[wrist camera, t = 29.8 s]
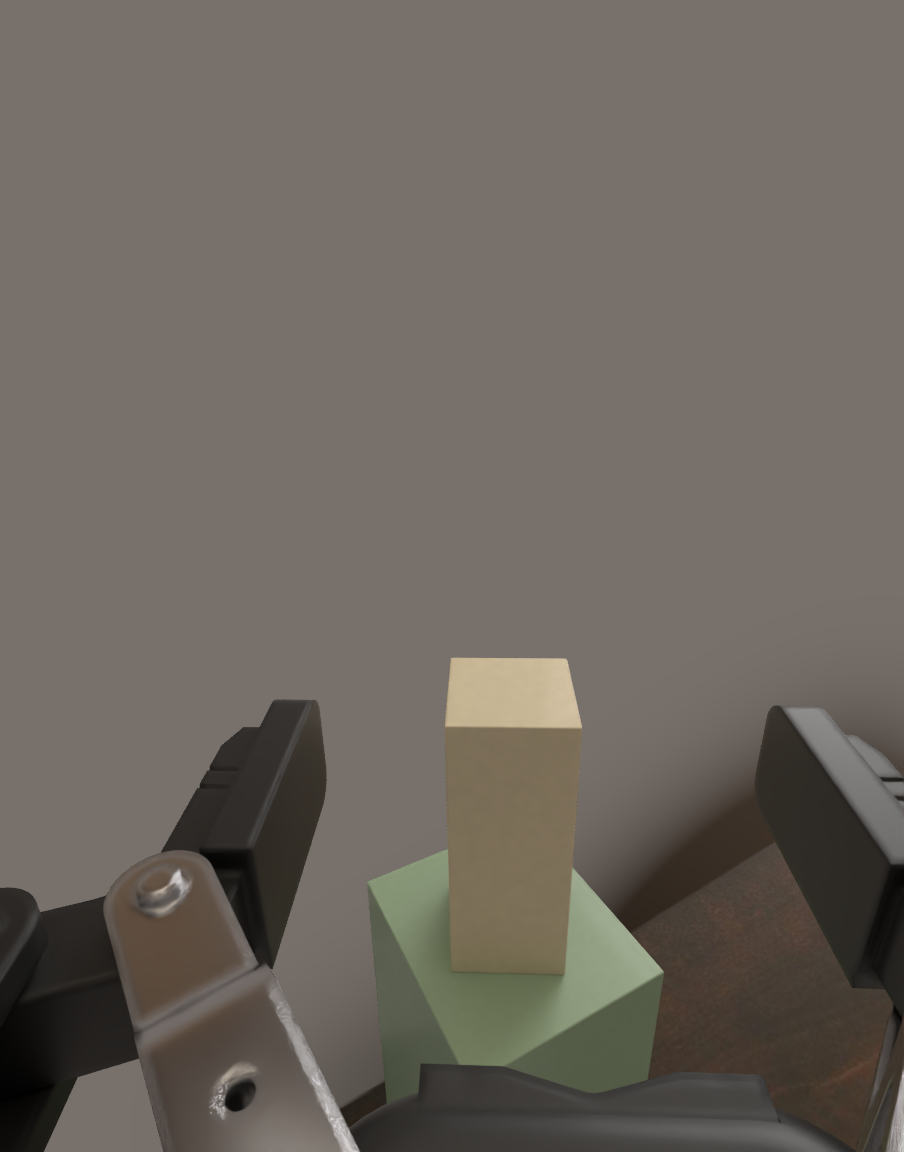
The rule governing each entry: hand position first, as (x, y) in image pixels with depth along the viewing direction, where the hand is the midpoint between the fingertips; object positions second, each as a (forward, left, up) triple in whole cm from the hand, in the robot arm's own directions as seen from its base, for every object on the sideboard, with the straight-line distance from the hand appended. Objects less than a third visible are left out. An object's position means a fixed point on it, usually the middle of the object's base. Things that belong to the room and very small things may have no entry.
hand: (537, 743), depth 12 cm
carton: (+6, +10, -18) cm, 21 cm away
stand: (+6, +10, -40) cm, 42 cm away
